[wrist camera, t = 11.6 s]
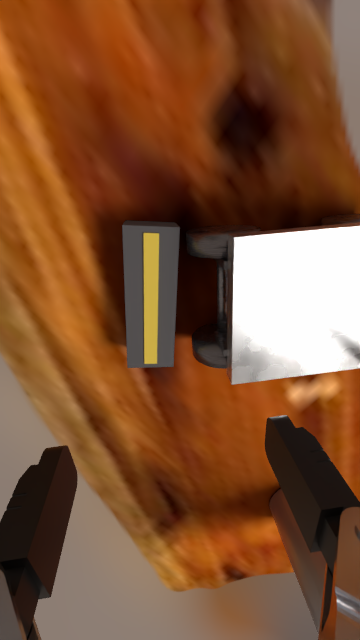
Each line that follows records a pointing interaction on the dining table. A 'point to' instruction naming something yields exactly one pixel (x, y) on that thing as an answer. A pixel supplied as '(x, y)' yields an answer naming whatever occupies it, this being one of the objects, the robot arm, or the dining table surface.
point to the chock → (150, 291)
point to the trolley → (282, 299)
